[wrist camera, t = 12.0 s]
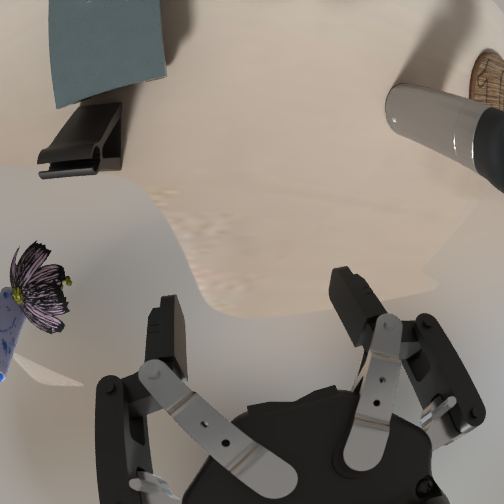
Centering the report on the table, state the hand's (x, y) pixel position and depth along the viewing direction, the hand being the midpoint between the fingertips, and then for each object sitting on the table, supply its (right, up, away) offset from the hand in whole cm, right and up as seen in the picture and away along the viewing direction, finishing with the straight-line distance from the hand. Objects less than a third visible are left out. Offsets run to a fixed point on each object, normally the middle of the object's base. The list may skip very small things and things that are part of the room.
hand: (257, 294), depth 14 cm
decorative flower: (-35, 0, +23) cm, 42 cm away
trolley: (-16, +30, +6) cm, 34 cm away
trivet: (+55, +37, +21) cm, 70 cm away
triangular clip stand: (-20, +17, +15) cm, 30 cm away
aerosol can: (-48, -8, +25) cm, 55 cm away
